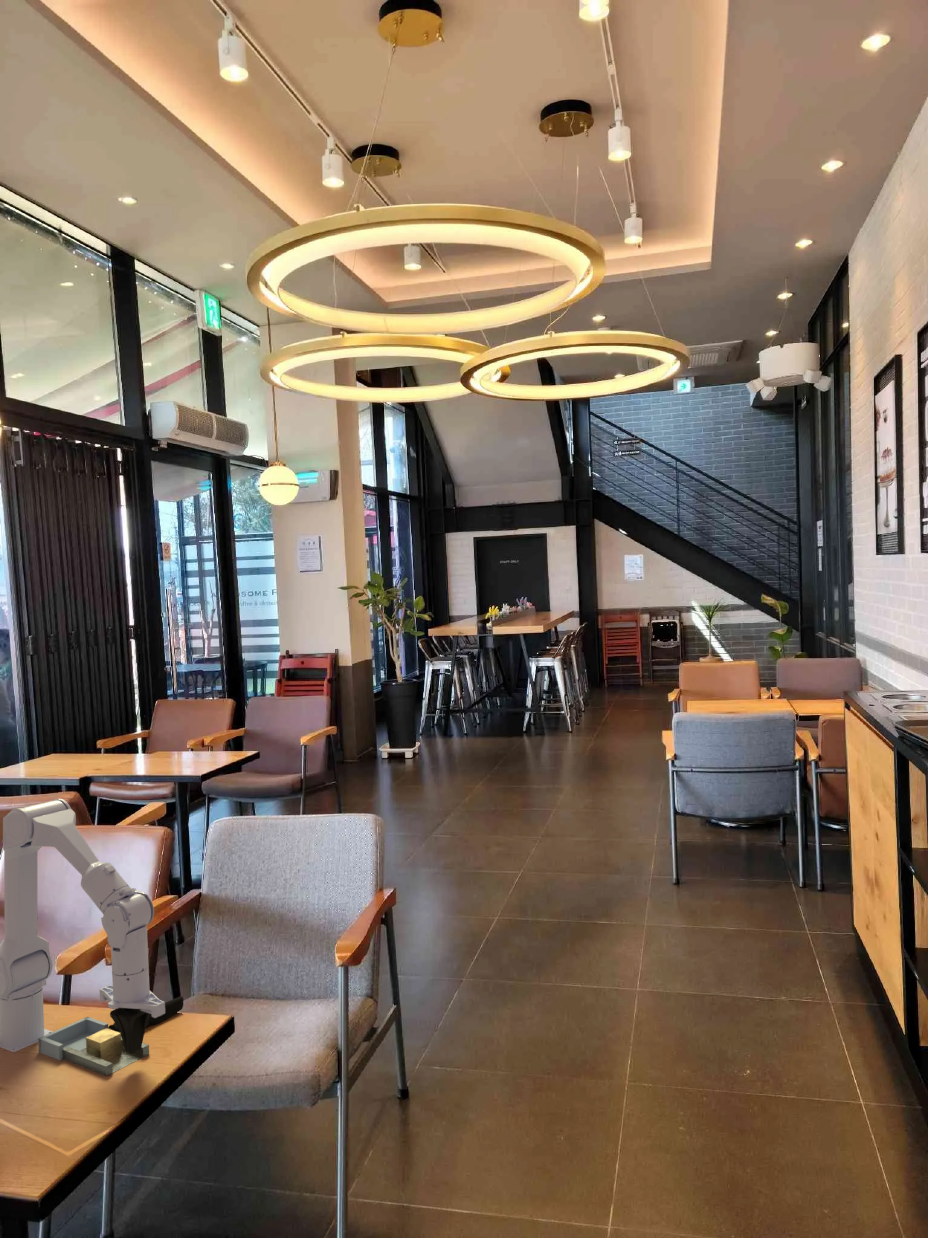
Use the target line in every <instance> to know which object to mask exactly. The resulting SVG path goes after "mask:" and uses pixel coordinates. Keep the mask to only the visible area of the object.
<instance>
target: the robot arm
mask: <svg viewBox="0 0 928 1238" xmlns="http://www.w3.org/2000/svg"><path fill="white" fill-rule="evenodd" d="M76 815H77V814H76V812H75V811H74V810H73V809H72V808H71V806H70V804H69V803H68V802H67V801H66V800H65V799H63V798H55V799H53V800H50V801H45V802H42V803H41V802H40V803H38V804H37V803H36V804H33V805H28V806H25V807H19V808H18V807H17V808H13V809H12V810H11V811H9V812H8V813H7V814H6V815H5V816H4V817H3V818H2V851H3V852H4V853H3V854H4V857H3V858H4V866H3V867H4V872H3V873H4V875H3V876H4V889H3V890H4V938H3V940H1V942H0V1048H2V1049H4V1050H7V1051H9V1052H12V1053H16V1052H18V1051H20V1050H23V1049H25V1048H27V1047H29V1046H32V1045H33V1044H36V1043H39V1042H38V1038H40V1037H43V1036H45V1035H47V1034H49V1033H52V1032H53V1031H52V1030H49V1029H47V1028H45V1017H44V1015H45V1014H44V990H43V989H44V988H43V987H45V986H46V985H47V979H49V977H51V975H52V972H53V966H54V963H53V957H52V956H51V952H50V942H49V941H48V940H47V939H45V938H44V937H42V936H39V934H38V924H39V923H38V853H39V850H40V849H41V848H42V847H46V848H47V847H49V848H51V847H52V848H55V849H56V850H57V851H58V852H59V853H60V854H61V856H62V857H63V858H65V859H66V860H67V861H68V863H70V864H71V866H72V867H74V869H75V870H76V871H77V873H79V874H80V875H81V880H80V887H81V888H82V890H83V891H84V892H85V893H86V895H87V896H88V897H89V899H91V901H92V902H93V903H94V905H95V906H96V908H97V909H98V910H99V911H100V912H101V914H102V917H101V918H100V919H101V920H100V921H101V925H102V928H103V930H104V931H105V934H106V937H107V939H106V940H107V943H108V946H109V947H110V954H111V955H110V956H111V977H112V978H111V979H112V985H110V984H109V985H106V986H104V987H102V988H99V1000H100V1001H102V1002H106V1001H108V1003H107V1008H109V1009H111V1011H110V1012H109V1017H110V1018H111V1019H112V1021H113V1023H115V1024H116V1026H117V1027H118V1030H119V1032H120V1034H121V1037H122V1040H123V1044H124V1047H125V1050H126V1052H128V1053H130V1054H132V1053H134V1052H136V1051H138V1050H140V1049H141V1047H142V1043H144V1042H143V1041H144V1037H145V1033H146V1032H145V1031H146V1029H147V1027H148V1026H147V1023H148V1021H149V1018H150V1016H151V1014H152V1017H154V1018H156V1017H158V1016H161V1015H163V1014H165V1002H166V1001H164V1000H161V999H159V997H157V996H156V994H154V993H153V992H152V991H151V990H150V975H149V974H150V969H149V948H148V947H149V946H148V944H149V943H148V925H149V924H150V923H151V922H152V921H153V919H154V915H155V907H154V904H153V901H152V900H151V898H150V896H149V894H148V893H146V892H145V891H142V890H141V891H140V890H137V889H136V888H134V887H132V888H131V886H129V884H128V883H127V882H126V880H125V879H124V878H123V876H121V875H120V873H119V872H118V871H117V869H116V868H115V866H114V865H113V864H111V863H110V862H103V861H102V862H101V861H99V859H98V857H97V856H96V854H95V852H93V850H92V848H91V847H90V845H89V844H88V843H87V841H86V839H85V838H84V837H83V835H82V833H81V832H80V831H79V828H78V827H77V826H76V825H77V817H76Z"/></svg>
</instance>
